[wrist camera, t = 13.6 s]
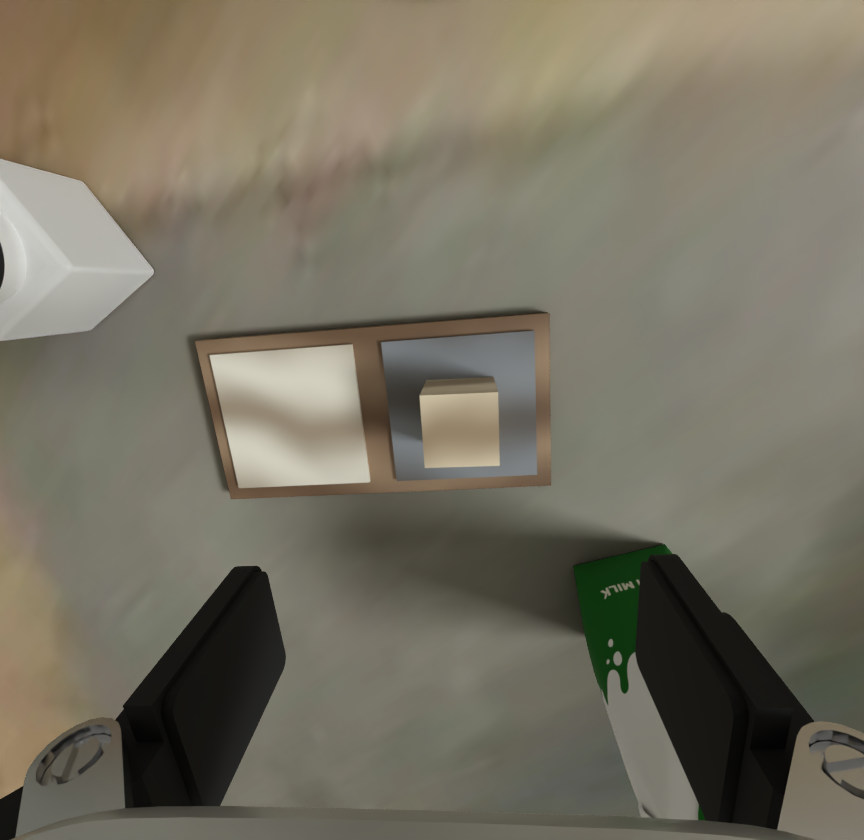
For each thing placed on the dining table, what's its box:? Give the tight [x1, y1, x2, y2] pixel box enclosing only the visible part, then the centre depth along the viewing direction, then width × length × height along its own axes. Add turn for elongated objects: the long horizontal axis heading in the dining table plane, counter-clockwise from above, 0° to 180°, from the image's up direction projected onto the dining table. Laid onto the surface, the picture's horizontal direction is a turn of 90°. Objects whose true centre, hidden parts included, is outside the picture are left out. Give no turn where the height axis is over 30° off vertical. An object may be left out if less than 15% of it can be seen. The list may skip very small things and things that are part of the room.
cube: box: [420, 377, 500, 468], centre depth 28 cm, size 4×4×4 cm
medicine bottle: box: [0, 159, 154, 341], centre depth 25 cm, size 7×7×12 cm
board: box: [195, 312, 551, 499], centre depth 32 cm, size 12×24×1 cm, turn 95°
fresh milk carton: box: [573, 544, 706, 821], centre depth 26 cm, size 9×9×20 cm
